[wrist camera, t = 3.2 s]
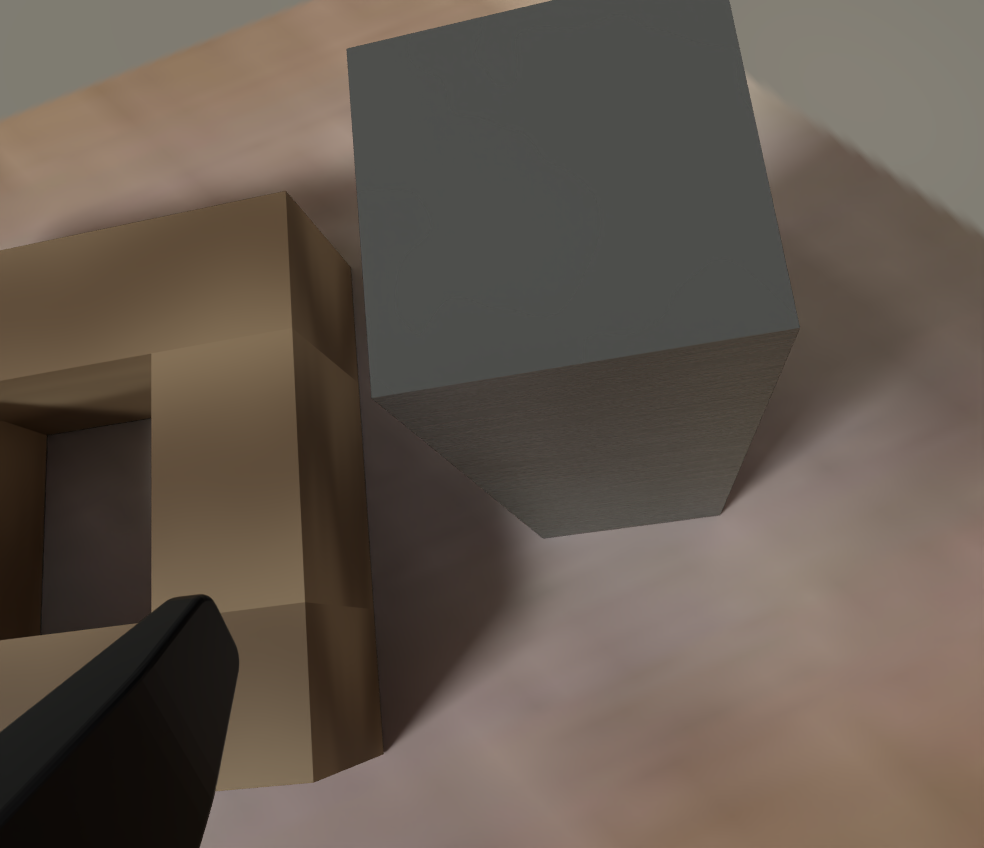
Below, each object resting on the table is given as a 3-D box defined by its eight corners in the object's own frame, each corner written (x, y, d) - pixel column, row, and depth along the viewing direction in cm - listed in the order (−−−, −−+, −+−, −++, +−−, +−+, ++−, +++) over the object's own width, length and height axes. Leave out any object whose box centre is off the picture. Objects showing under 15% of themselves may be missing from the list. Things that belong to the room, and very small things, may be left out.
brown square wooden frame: (383, 754, 19) (313, 782, 15) (-80, 797, 21) (-244, 831, 17) (350, 267, 22) (285, 190, 19) (-50, 343, 24) (-184, 288, 20)
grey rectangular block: (720, 515, 19) (800, 328, 8) (542, 538, 20) (371, 399, 8) (689, 346, 20) (720, -39, 9) (522, 374, 21) (346, 48, 9)
